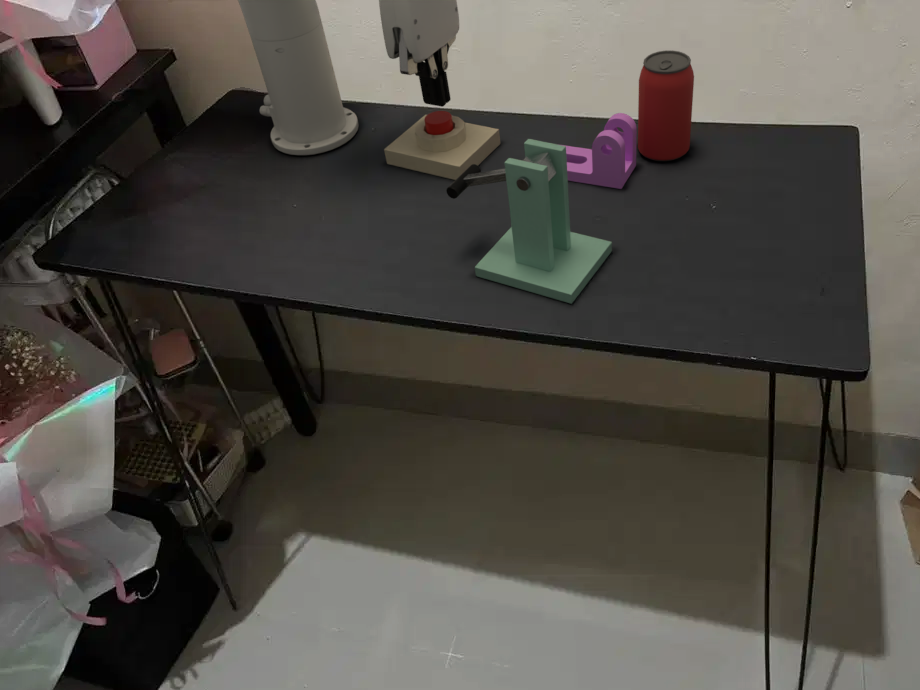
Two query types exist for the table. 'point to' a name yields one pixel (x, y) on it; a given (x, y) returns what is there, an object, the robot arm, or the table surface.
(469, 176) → the lever
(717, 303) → the table surface
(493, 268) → the bracket
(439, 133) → the button
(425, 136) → the control block
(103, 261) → the table surface
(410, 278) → the table surface
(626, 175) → the bracket
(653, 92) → the beer can
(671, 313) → the table surface
